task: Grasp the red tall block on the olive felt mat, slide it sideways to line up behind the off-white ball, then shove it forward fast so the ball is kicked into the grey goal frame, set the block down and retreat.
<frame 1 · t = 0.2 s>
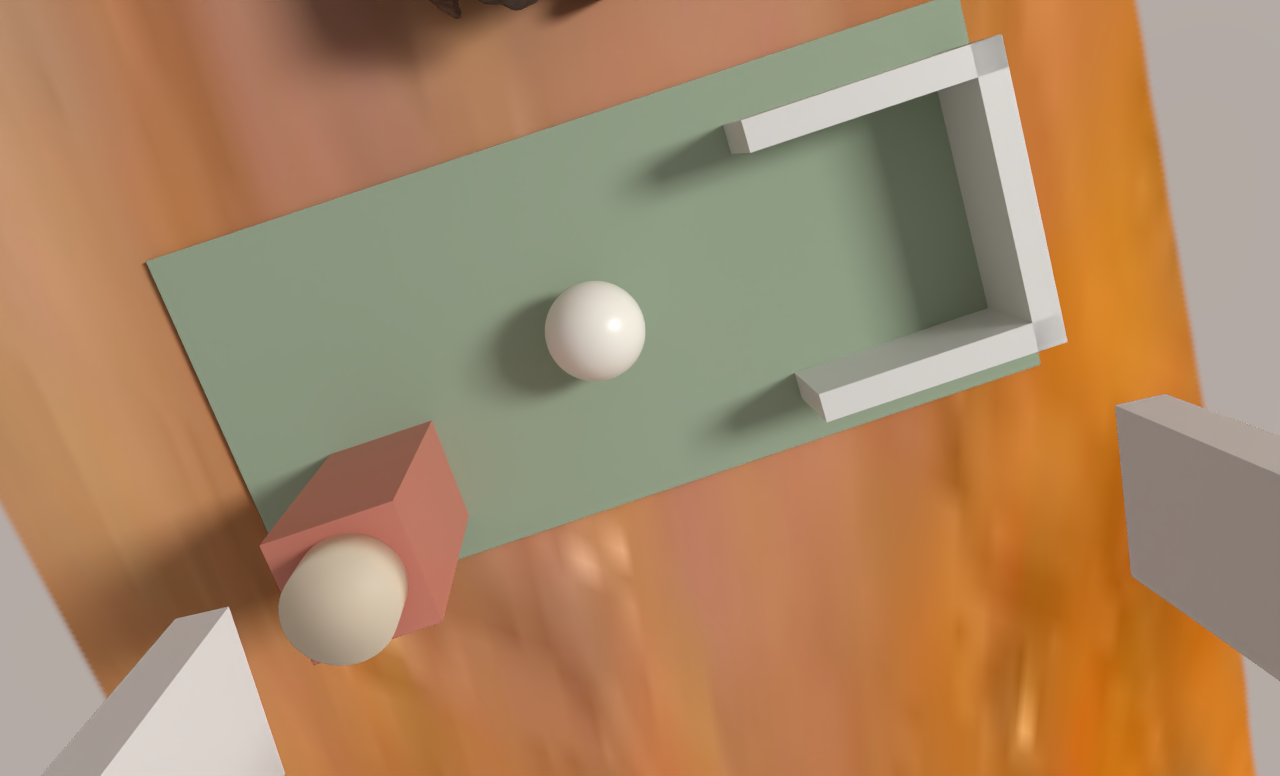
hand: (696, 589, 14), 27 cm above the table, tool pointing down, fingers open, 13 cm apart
felt mat: (615, 314, 41), on the table
red tall block: (400, 485, 41), resting on felt mat
goal: (876, 228, 40), resting on felt mat
ball: (595, 331, 38), point 2 cm above the table, touching felt mat
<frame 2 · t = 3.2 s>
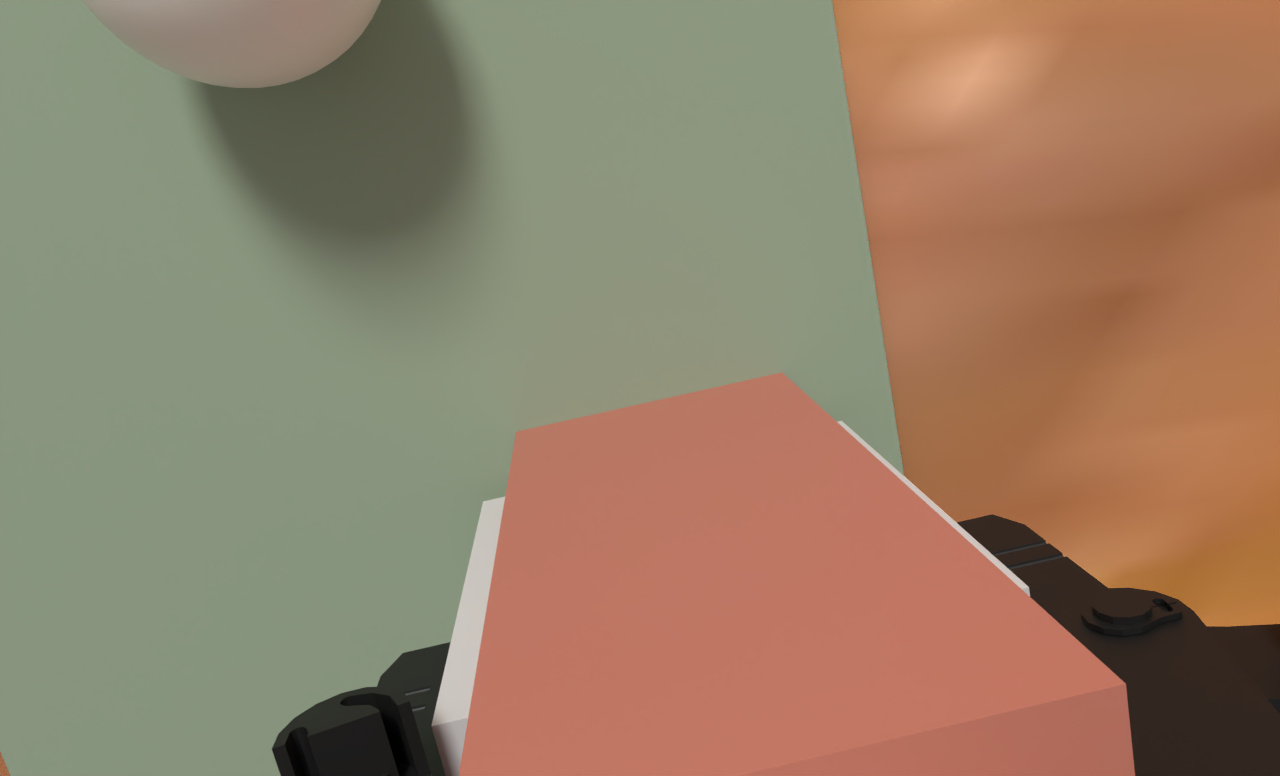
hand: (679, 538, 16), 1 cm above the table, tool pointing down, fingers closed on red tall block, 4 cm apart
red tall block: (676, 527, 16), resting on felt mat, touching gripper
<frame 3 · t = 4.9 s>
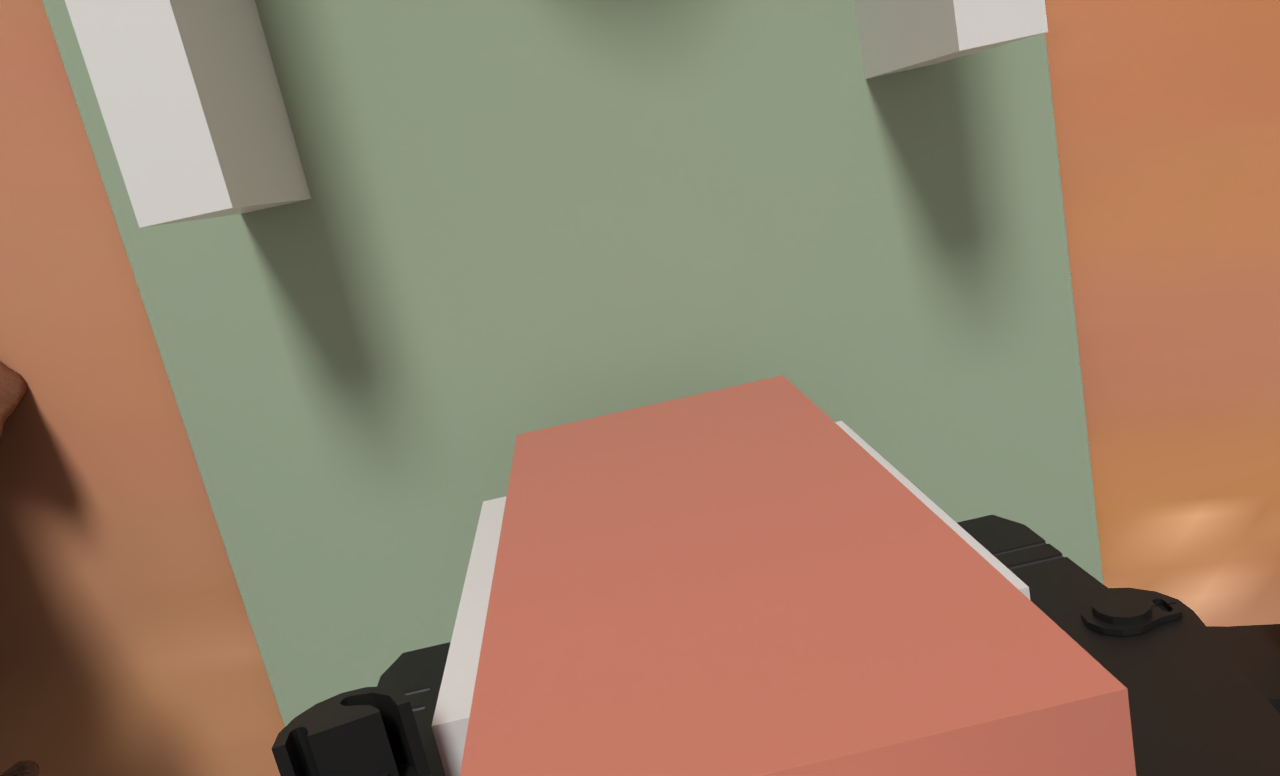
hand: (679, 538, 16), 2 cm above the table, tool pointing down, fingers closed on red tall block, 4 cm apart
felt mat: (666, 490, 18), on the table
red tall block: (677, 530, 16), point 2 cm above the table, touching gripper
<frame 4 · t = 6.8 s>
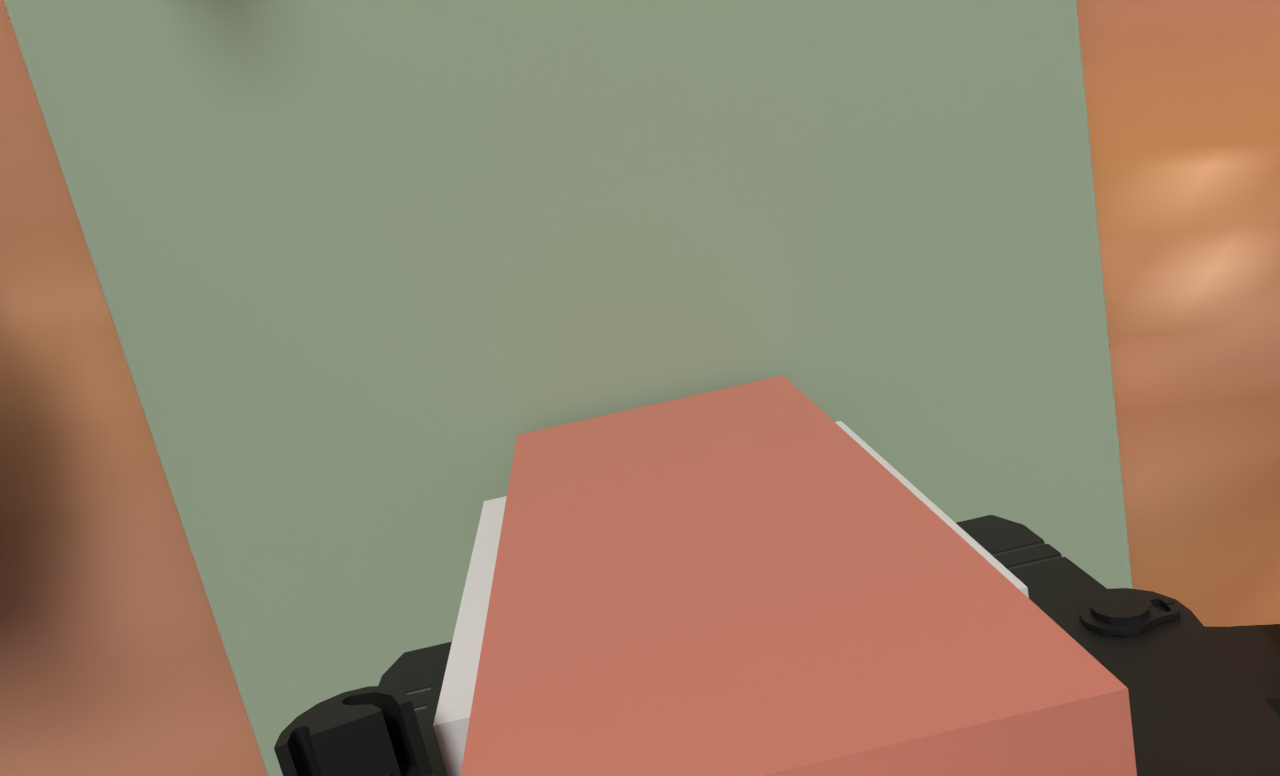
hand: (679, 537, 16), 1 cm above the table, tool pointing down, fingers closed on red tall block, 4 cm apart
felt mat: (586, 111, 15), on the table
red tall block: (677, 530, 16), point 1 cm above the table, touching gripper
when the fingers open (1 cm above the table, at t = 6.9 s): red tall block stays where it is, resting on felt mat.
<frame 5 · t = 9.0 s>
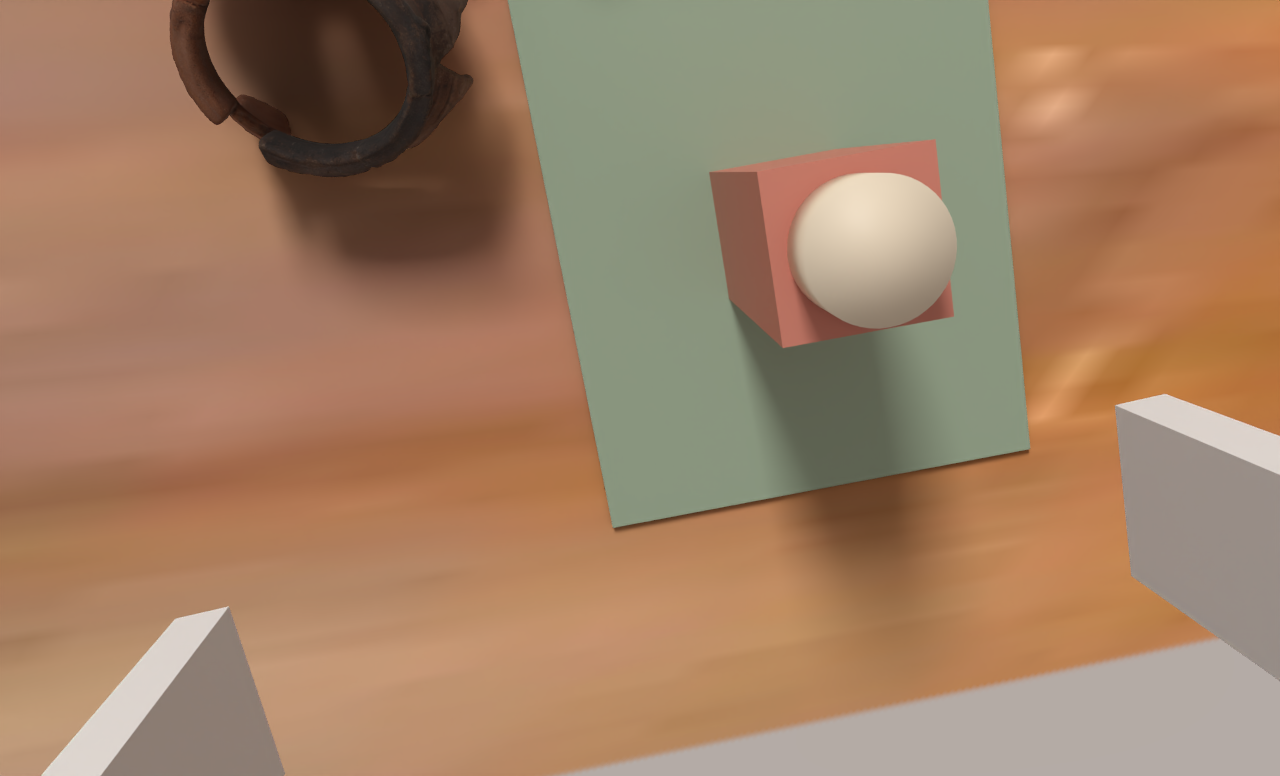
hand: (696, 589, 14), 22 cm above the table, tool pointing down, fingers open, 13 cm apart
felt mat: (752, 17, 33), on the table
red tall block: (781, 224, 34), resting on felt mat
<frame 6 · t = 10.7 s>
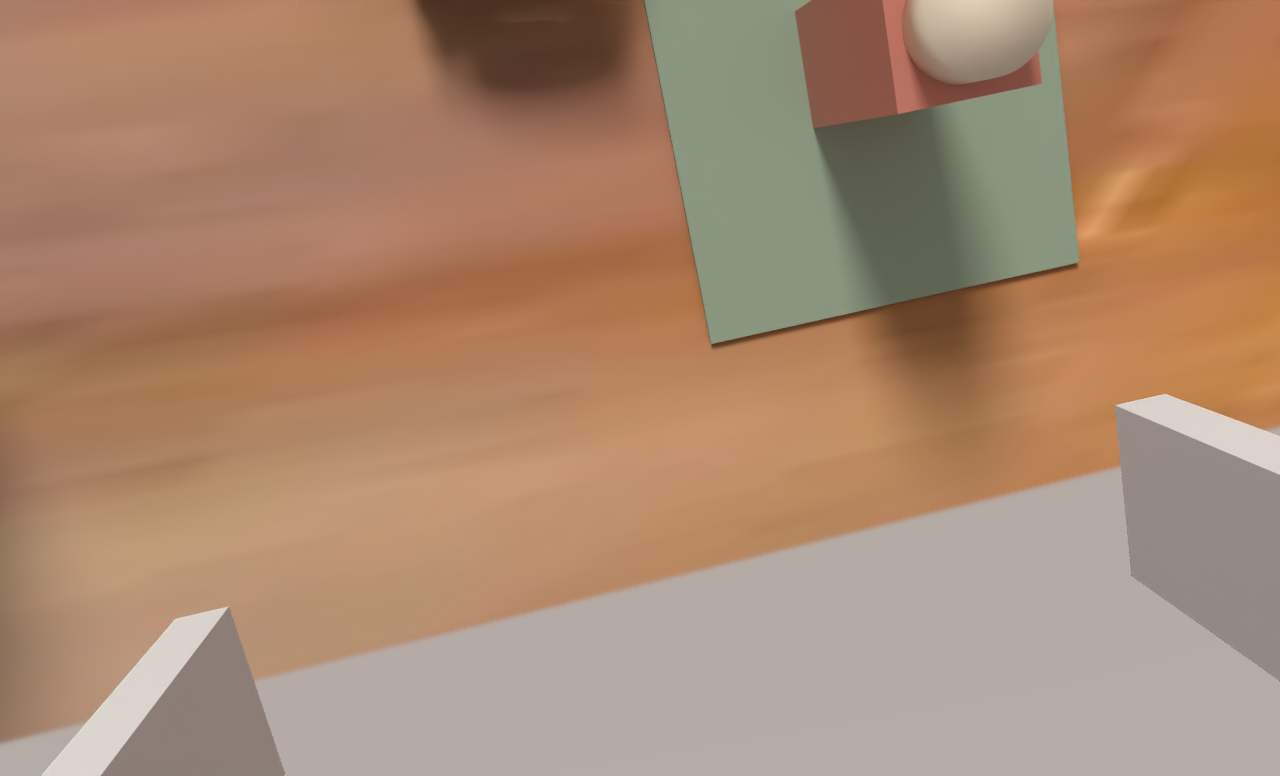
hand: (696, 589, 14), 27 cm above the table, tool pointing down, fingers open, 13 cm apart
red tall block: (859, 59, 38), resting on felt mat
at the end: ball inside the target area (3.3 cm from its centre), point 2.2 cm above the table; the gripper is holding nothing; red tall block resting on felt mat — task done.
